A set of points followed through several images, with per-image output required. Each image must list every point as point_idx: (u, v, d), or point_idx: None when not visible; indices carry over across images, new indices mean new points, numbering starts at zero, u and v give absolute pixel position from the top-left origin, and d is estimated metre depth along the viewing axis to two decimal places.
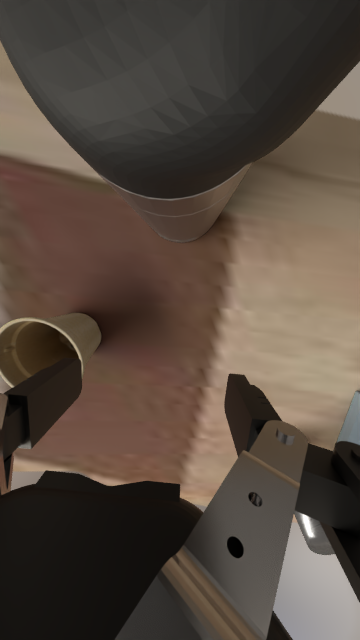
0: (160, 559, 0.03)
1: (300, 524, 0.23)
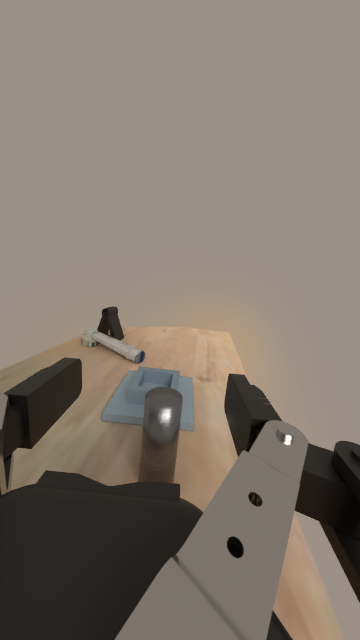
0: (160, 559, 0.03)
1: (162, 420, 0.21)
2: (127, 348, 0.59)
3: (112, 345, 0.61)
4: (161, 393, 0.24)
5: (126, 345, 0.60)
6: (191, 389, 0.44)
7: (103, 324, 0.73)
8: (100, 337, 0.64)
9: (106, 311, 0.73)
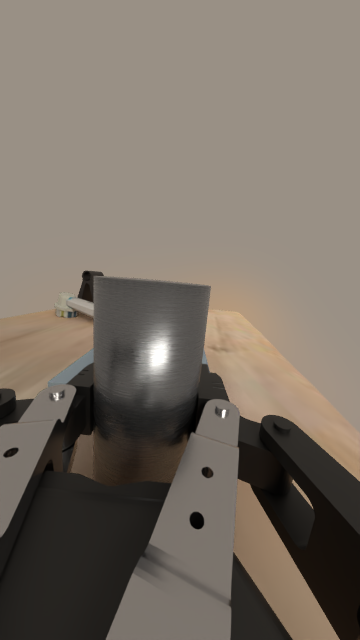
0: None
1: (148, 328, 0.06)
2: None
3: (93, 311, 0.45)
4: None
5: None
6: (203, 355, 0.29)
7: (84, 292, 0.57)
8: (78, 303, 0.48)
9: (88, 276, 0.58)
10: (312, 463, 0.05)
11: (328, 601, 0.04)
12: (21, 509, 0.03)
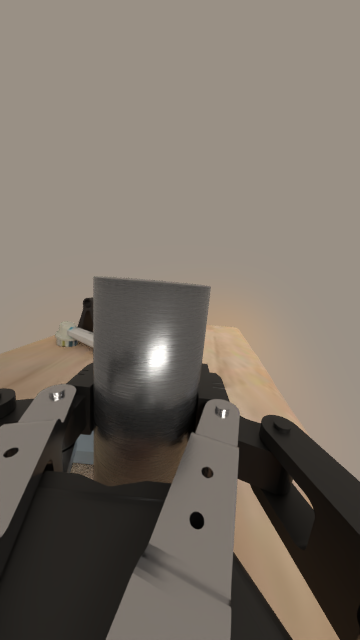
0: None
1: (147, 329, 0.06)
2: None
3: None
4: (146, 280, 0.08)
5: None
6: None
7: (85, 318, 0.59)
8: (79, 334, 0.49)
9: (89, 302, 0.59)
10: (312, 463, 0.05)
11: (328, 601, 0.04)
12: (21, 509, 0.03)
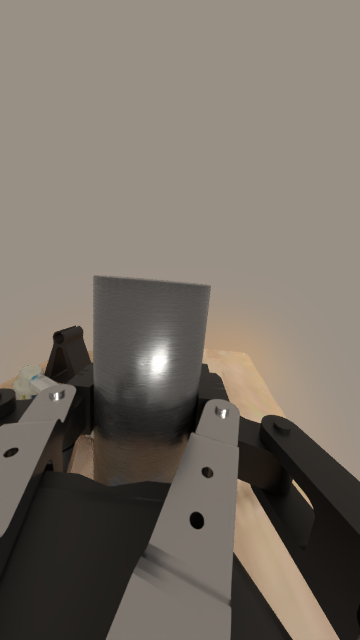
0: None
1: (148, 328, 0.06)
2: None
3: None
4: (146, 279, 0.08)
5: None
6: None
7: (57, 356, 0.45)
8: (43, 389, 0.35)
9: (62, 335, 0.45)
10: (312, 463, 0.05)
11: (328, 601, 0.04)
12: (21, 509, 0.03)
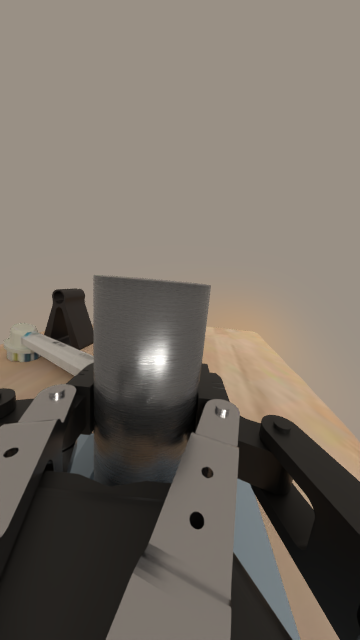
0: None
1: (148, 327, 0.06)
2: None
3: (59, 360, 0.29)
4: (146, 279, 0.08)
5: (89, 359, 0.29)
6: (257, 517, 0.13)
7: (57, 318, 0.42)
8: (38, 344, 0.32)
9: (62, 296, 0.42)
10: (312, 463, 0.05)
11: (328, 601, 0.04)
12: (21, 509, 0.03)
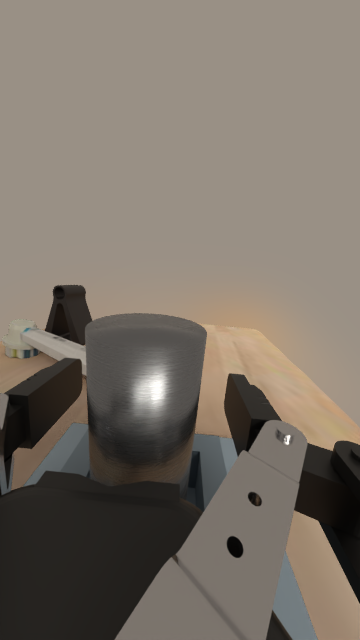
0: (160, 559, 0.03)
1: (140, 393, 0.06)
2: None
3: (60, 355, 0.29)
4: (140, 321, 0.08)
5: None
6: None
7: (57, 315, 0.41)
8: (38, 339, 0.31)
9: (63, 292, 0.42)
10: None
11: None
12: None
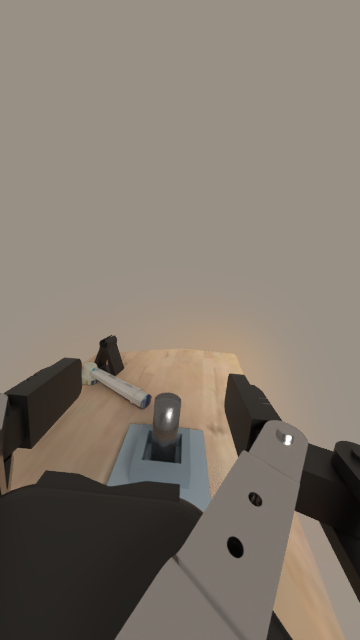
0: (160, 559, 0.03)
1: (167, 416, 0.31)
2: (131, 391, 0.52)
3: (114, 387, 0.54)
4: (165, 397, 0.34)
5: (130, 387, 0.53)
6: (203, 451, 0.38)
7: (101, 356, 0.67)
8: (100, 376, 0.57)
9: (104, 341, 0.67)
10: None
11: None
12: None
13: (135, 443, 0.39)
